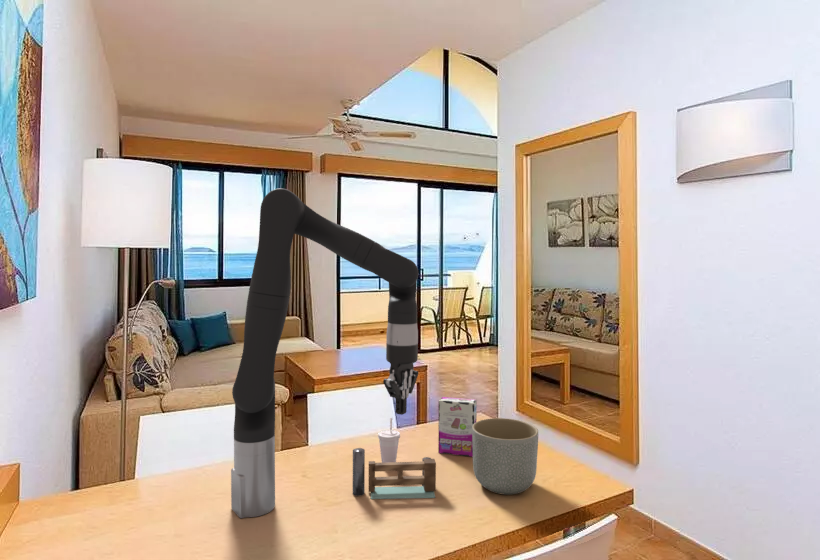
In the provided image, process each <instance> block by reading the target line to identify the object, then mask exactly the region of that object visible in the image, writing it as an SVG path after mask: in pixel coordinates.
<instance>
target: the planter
mask: <svg viewBox="0 0 820 560" xmlns="http://www.w3.org/2000/svg"><path fill="white" fill-rule="evenodd" d="M472 448H473V457H472V468H473V473H474V476H475V478H476V480H477V482H478V483H479V484H480V485H481V486H482V487H484V488H485V489H487V490H488V491H490V492H492V493H496V494H499V495H509V496H510V495H517V494H520V493H522V492H523V493H524V491H526V490H527V489H529V488H530V487H532V485H533V483H534V481H535V479H536V475H537V469H538V466H537V465H538V464H537V463H538V449H539V430H538V428H537V427H536V426H535V425H533V424H531V423H529V422H526V421H523V420H519V419H514V418H506V417H505V418H504V417H498V418H497V417H496V418H485V419H480V420H478V421H476V423H474V424H473V426H472Z"/></svg>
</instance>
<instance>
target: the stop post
mask: <svg viewBox="0 0 820 560" xmlns="http://www.w3.org/2000/svg"><path fill="white" fill-rule="evenodd" d="M421 459H422V460H421V461H424V459H432V458H431V457H429V456H427V457H426V456H424V457H423V458H421ZM421 471H422V473H421V474H422V475H421V476H423V472H424V470H421ZM421 486H423V485H421Z"/></svg>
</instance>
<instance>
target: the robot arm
mask: <svg viewBox="0 0 820 560" xmlns="http://www.w3.org/2000/svg"><path fill="white" fill-rule="evenodd" d="M259 212H260V214H259V231H258V245H257V251H256V256H255V259H254V263H253V268H252V273H251V279H250V284H249V288H248V295H247V301H246V308H245V316H244V330H243V331H244V332H243V334H244V335H243V347H242V354H241V359H240V363H239V366H238V369H237V370H238V371H237V374H236V377H235V381H234V384H233V386H232V391H231V394H232V398H233V399H232V400H233V402H234V422H233V423H234V424H233V468H231V469H230V482H231V483H230V487H231V488H230V491H231V492H230V493H231V494H230V498H231V499H230V502H231V503H230V504H231V507H230V508H231V510H232V511H233V512H234V513H235V514H236V516H237V517H238V518H239V519H243V518H244V519H245V518H253V517H254V518H255V517H261V516H263V515H266V514H268V513H270V512H271V511H273V510H274V509H275V507H276V451H275V450H276V449H275V448H276V447H275V446H276V444H275V443H276V439H275V437H276V381H275V367H276V366H275V365H276V364H275V363H276V356H277V351H278V347H279V343H280V340H281V338H282V334H283V331H284V327H285V323H286V319H287V315H288V309H289V302H290V296H291V287H292V281H291V280H292V277H291V276H292V274H291V273H292V271H291V249H292V244H293V239H294V235H297V236H301V237H303V238H305V239H308V240H309V241H312V242H315V243H316V244H318V245H320V246H322V247H324V248H325V249H327V250H329V251H330V252H332V253H334V254H335V255H337V256H339V257H340V258H342V259H343V260H346V261H348V263H351V264H352V265H355V266H357V267H358V268H361V269H362V270H365V271H368V272H370V273H373V274H375V275H376V276H378V277H380V278H381V279H382V280H384V281H386V282H387V283H388V296H389V298H388V299H389V300H388V305H387V327H386V338H385V339H386V341H385V342H386V343H385V344H386V345H385V346H386V348H385V349H386V353H385V355H386V356H385V360H386V361H387V362H388V363H389V364H390V367H389V371H388V373H389V376H388V378H383V382H382V383H383V384H384V387H385V390H386V391H387V392H388V395H389V397H390V398H394V399H395V414H397V415H401V416H402V415H404V414H406V413H407V411H408V410H407V405H408V404H407V403H408V400H407V399H408V398H409V394H412V393H413V392H414V391H413V390H414V388H415V384H416V382H417V380H418V376H419V370H415V369H414V363H417V362H418V357H419V356H418V353H419V352H418V348H419V346H418V345H419V344H418V343H419V329H418V303H417V281H418V278H419V268H418V266H417V265H416V263H415V262H414V261H413V260H411V259H410V258H407V257H405V256H403V255H401V254H399V253H397V252H394V251H393V250H390V249H388V248H385V247H384V246H383V245H381V244H380V243H378V242H377V241H374V240H373V239H371V238H369V237H367V236H365V235H363V234H361V233H359V232H356V231H355V230H352V229H350V228H349V227H345V226H343V225H341V224H338V223H336V222H333V221H332V220H330V219H328V218H326V217H324V216H322V215H320V214H319V213H318V212H317V211H316V210H315V211H314V210H313V209H312V208H311V207H309V206H308V205H307V204H305V203H304V202H303V201H302V200H301V198H300V197H299V196H298V195H296V194H295V193H294V192H292V191H290V189H286V188H282V187H281V188H279V187H278V188H275V189H272V190H270V191H269V192H268V193H266V195H265V196H264V198H263V199H262V202H261V205H260V211H259Z"/></svg>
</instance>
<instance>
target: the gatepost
mask: <svg viewBox="0 0 820 560" xmlns="http://www.w3.org/2000/svg"><path fill="white" fill-rule="evenodd" d="M365 451H366V450H365V448H361V447H356V448H353V449H352V495H353V496H355V497H362V496H364V495H365V493H366V491H365V490H366V489H365V487H366V486H365V485H366V484H365V480H366V479H365V477H366V476H365V474H366V473H365V472H366V471H365V466H366V465H365V464H366V463H365V462H366V458H365V456H366V455H365V454H366V453H365Z"/></svg>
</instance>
